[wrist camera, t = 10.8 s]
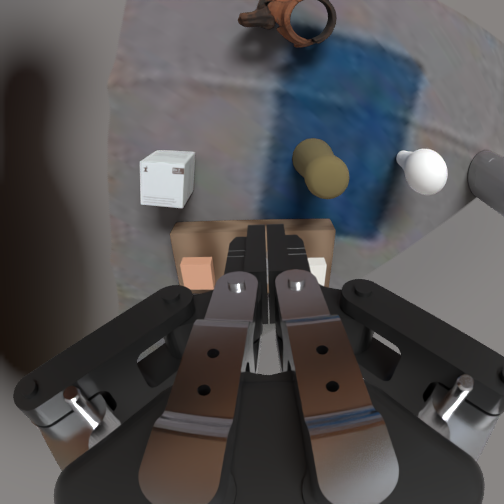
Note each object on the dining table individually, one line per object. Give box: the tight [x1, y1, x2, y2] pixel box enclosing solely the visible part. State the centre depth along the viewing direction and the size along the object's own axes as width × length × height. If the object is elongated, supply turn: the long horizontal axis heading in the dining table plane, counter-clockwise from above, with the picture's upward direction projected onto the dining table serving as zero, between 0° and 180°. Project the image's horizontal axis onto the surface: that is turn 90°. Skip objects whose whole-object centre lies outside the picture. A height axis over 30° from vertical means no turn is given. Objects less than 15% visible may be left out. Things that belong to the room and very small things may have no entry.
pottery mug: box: [238, 0, 336, 47], centre depth 28 cm, size 12×10×8 cm
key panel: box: [170, 219, 335, 293], centre depth 47 cm, size 24×11×4 cm, turn 92°
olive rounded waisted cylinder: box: [292, 138, 349, 199], centre depth 36 cm, size 6×6×11 cm
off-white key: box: [308, 258, 327, 286], centre depth 42 cm, size 4×4×2 cm
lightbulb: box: [396, 149, 447, 195], centre depth 35 cm, size 6×6×11 cm
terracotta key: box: [180, 257, 215, 290], centre depth 43 cm, size 4×4×2 cm
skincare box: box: [140, 150, 195, 208], centre depth 39 cm, size 6×6×7 cm
